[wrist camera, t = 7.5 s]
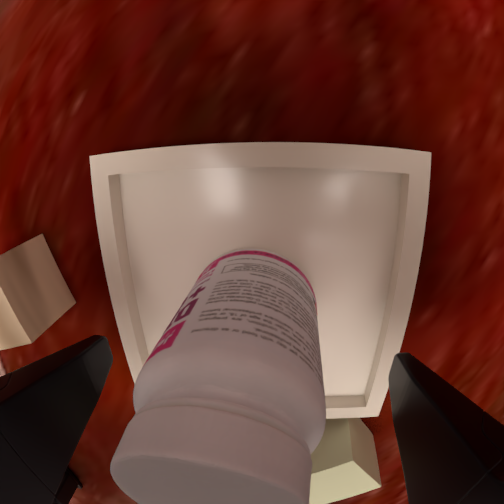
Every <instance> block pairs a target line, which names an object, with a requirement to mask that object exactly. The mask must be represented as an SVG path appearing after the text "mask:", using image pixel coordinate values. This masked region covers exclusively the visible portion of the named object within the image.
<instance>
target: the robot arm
mask: <svg viewBox="0 0 504 504" xmlns="http://www.w3.org/2000/svg"><path fill="white" fill-rule="evenodd" d="M112 362H113V356H112V352H111V349H110V346H109V343H108V340H107V338H106V337H105V336H100V335H93V336H91V337H89V338H87V339H84V340H82V341H80V342H78V343H76V344H73V345H71V346H69V347H67V348H64V349H62V350H60V351H58V352H56V353H53V354H51V355H49V356H47V357H44V358H42V359H40V360H38V361H35V362H33V363H31V364H29V365H26V366H24V367H22V368H20V369H17V370H15V371H13V372H10V373H8V374H6V375H4V376H1V377H0V504H68V503H69V501H70V500H71V498H72V496H73V494H74V492H75V490H76V488H77V487H78V488H80V489H82V487H83V486H82V485H81V483H80V482H79V481H78V480H77V479H76V478H75V476H74V475H73V474H72V473H71V472H70V470H69V469H68V468H67V466H68V464H69V462H70V459H71V457H72V455H73V453H74V450H75V448H76V446H77V444H78V442H79V439H80V437H81V435H82V433H83V431H84V429H85V427H86V425H87V422H88V420H89V418H90V416H91V414H92V412H93V410H94V408H95V406H96V404H97V402H98V399H99V397H100V395H101V392H102V389H103V386H104V384H105V381H106V378H107V376H108V373H109V370H110V368H111V365H112ZM388 381H389V389H390V397H391V406H392V415H393V423H394V428H395V433H396V437H397V442H398V447H399V451H400V456H401V461H402V467H403V472H404V477H405V483H406V489H407V495H408V501H409V504H504V425H502V424H501V423H500V422H498V421H497V420H496V419H494V418H493V417H492V416H490V415H489V414H488V413H487V412H485V411H484V412H483V409H481V408H480V407H479V406H477V405H476V404H475V403H474V402H472V401H471V400H470V399H468V398H467V397H466V396H465V395H463V394H462V393H461V392H459V391H458V390H457V389H456V388H454V387H453V386H452V385H450V384H449V383H448V382H446V381H445V380H444V379H442V378H441V377H440V376H439V375H437V374H436V373H435V372H433V371H432V370H431V369H429V368H428V367H427V366H425V365H424V364H423V363H422V362H420V361H419V360H418V359H416V358H415V357H414V356H412V355H411V354H410V353H397V354H395V356H394V359H393V362H392V365H391V369H390V372H389V377H388Z"/></svg>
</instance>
